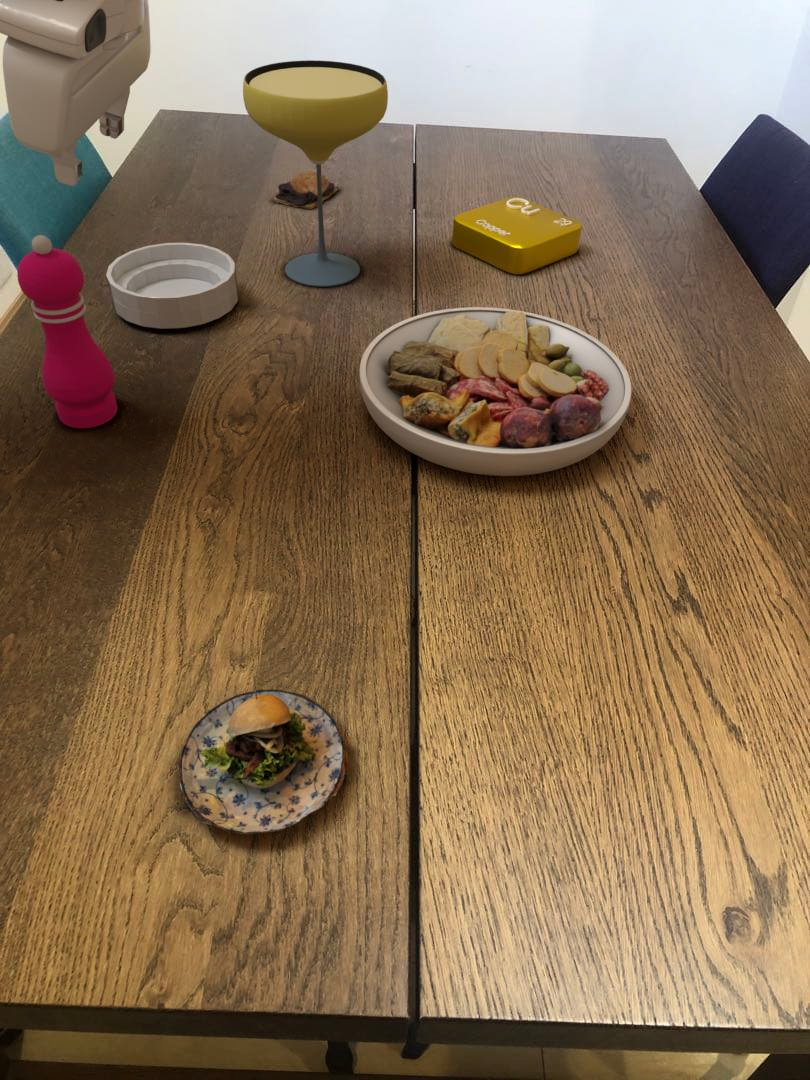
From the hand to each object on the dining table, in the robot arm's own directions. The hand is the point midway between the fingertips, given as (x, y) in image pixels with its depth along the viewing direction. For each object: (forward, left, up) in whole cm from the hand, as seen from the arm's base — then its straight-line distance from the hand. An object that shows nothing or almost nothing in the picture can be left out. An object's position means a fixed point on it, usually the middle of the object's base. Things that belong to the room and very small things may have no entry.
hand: (91, 156), depth 74 cm
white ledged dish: (+2, +24, -27) cm, 36 cm away
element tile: (+52, +39, -27) cm, 70 cm away
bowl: (+39, -4, -27) cm, 48 cm away
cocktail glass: (+22, +33, -27) cm, 48 cm away
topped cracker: (+21, +62, -27) cm, 71 cm away
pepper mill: (-6, -1, -27) cm, 28 cm away
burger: (+13, -48, -27) cm, 56 cm away
